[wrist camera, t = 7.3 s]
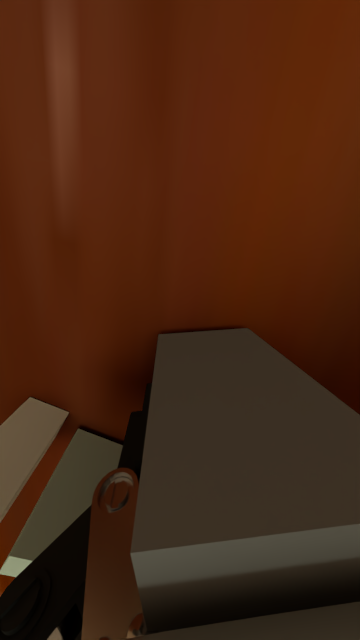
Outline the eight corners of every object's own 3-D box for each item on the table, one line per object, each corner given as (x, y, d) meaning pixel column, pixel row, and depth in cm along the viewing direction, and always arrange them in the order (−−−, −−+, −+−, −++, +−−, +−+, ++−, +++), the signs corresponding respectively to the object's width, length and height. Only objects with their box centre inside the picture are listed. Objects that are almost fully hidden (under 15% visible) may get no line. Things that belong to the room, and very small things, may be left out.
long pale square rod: (286, 506, 16) (346, 626, 11) (270, 522, 16) (319, 644, 11) (78, 427, 12) (9, 554, 7) (64, 451, 12) (-10, 587, 7)
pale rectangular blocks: (344, 520, 18) (454, 676, 11) (325, 535, 18) (419, 695, 11) (30, 395, 11) (-163, 581, 5) (16, 425, 12) (-176, 629, 5)
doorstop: (247, 328, 10) (479, 508, 3) (241, 426, 12) (364, 690, 5) (158, 334, 10) (130, 552, 2) (167, 433, 12) (167, 726, 4)
